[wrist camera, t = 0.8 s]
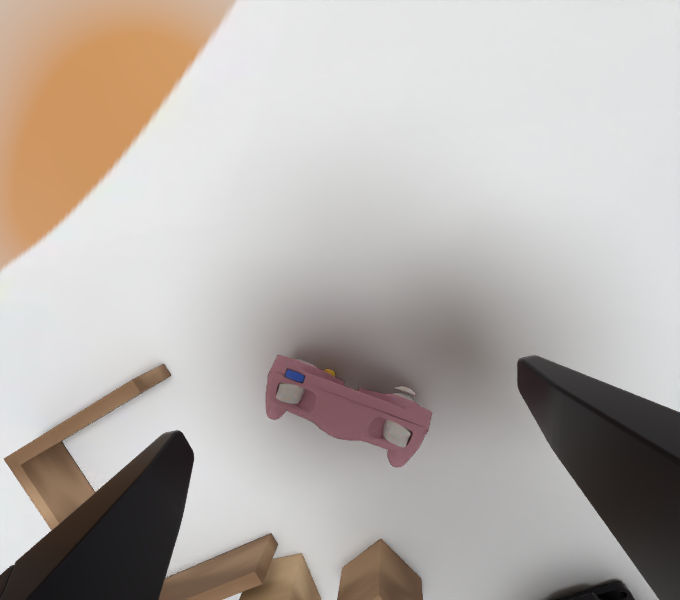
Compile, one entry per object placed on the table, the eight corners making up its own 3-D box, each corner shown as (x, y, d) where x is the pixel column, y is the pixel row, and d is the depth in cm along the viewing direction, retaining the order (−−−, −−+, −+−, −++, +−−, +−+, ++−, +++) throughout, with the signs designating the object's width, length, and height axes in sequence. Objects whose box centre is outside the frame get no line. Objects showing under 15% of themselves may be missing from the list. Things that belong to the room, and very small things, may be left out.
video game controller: (420, 399, 23) (452, 399, 16) (402, 467, 22) (428, 497, 15) (289, 351, 24) (269, 333, 17) (265, 414, 23) (233, 420, 16)
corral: (277, 544, 25) (262, 583, 22) (152, 596, 28) (123, 637, 25) (163, 363, 24) (132, 379, 21) (46, 435, 27) (3, 458, 24)
